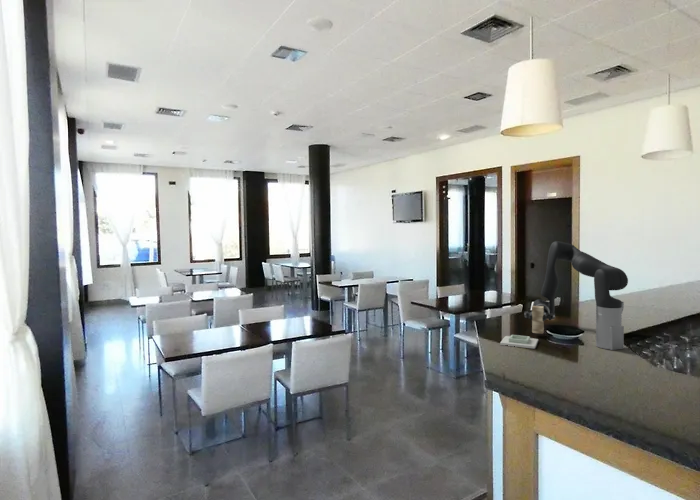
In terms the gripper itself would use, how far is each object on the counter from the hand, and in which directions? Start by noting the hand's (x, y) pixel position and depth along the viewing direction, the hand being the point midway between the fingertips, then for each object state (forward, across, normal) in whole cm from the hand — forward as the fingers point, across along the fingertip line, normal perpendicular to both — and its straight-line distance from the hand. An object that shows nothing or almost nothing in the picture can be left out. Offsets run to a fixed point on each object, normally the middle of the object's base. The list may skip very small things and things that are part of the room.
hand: (537, 318), depth 197 cm
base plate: (+14, -6, +9) cm, 18 cm away
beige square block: (-3, 0, +7) cm, 7 cm away
